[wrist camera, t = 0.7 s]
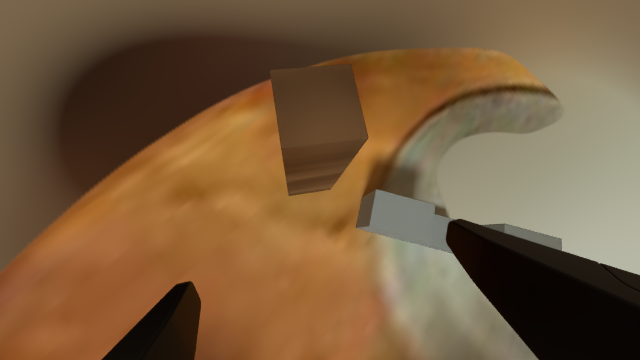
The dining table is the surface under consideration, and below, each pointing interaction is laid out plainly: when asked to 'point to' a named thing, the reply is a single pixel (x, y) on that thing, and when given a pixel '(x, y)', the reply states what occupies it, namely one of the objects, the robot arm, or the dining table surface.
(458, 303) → the dining table surface
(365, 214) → the notched rail
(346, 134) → the walnut post
